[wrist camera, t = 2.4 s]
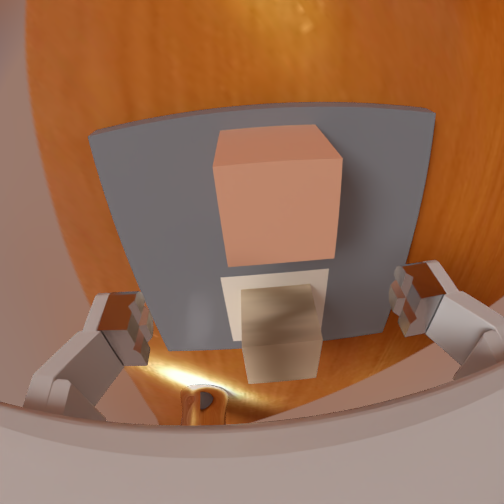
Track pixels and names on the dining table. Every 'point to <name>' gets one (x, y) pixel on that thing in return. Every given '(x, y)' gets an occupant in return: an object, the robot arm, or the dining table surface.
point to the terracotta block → (277, 194)
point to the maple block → (280, 333)
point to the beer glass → (203, 405)
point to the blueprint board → (209, 224)
